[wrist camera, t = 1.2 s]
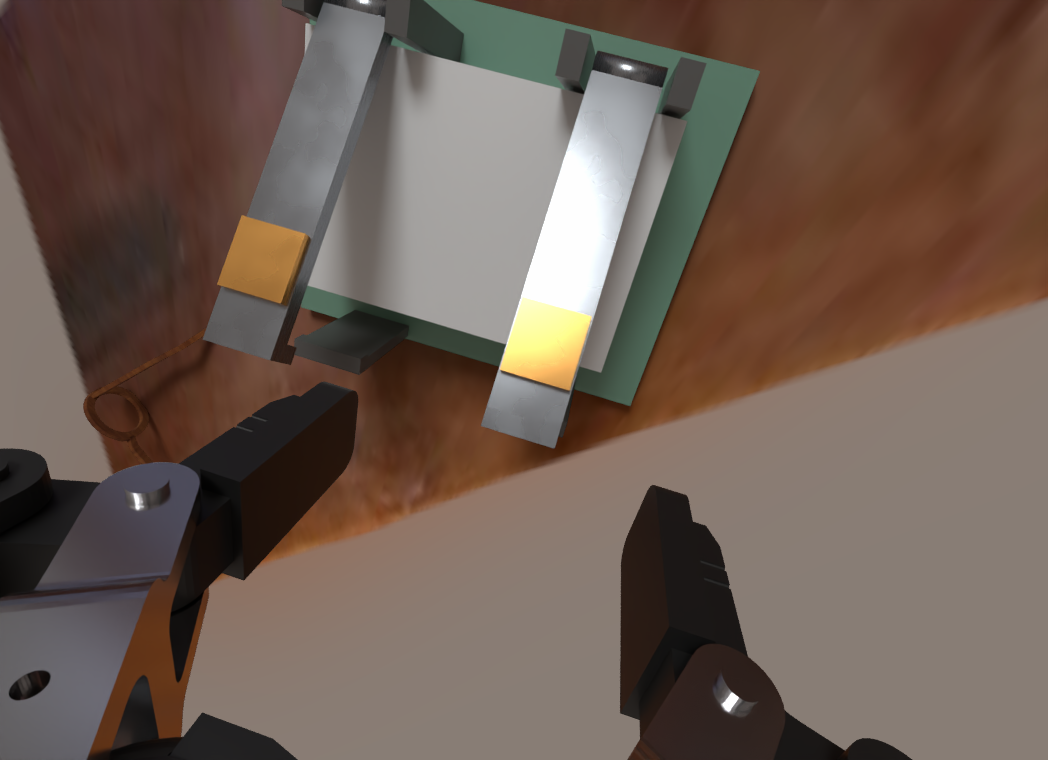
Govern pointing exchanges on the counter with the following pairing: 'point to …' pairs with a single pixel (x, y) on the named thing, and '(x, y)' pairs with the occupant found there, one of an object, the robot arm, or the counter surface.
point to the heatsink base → (505, 189)
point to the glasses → (142, 411)
